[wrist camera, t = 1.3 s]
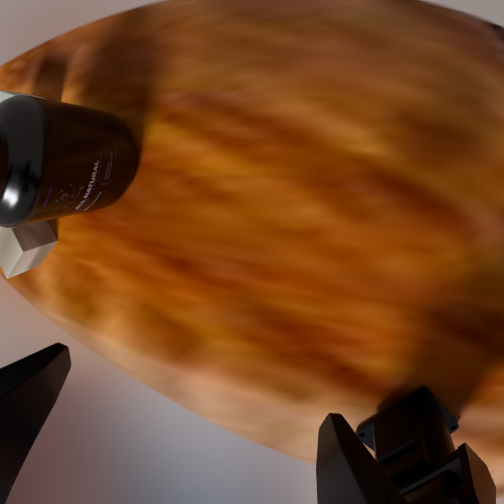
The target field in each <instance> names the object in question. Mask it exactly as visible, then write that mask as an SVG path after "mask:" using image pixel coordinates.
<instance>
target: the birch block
mask: <svg viewBox="0 0 504 504" xmlns="http://www.w3.org/2000/svg"><path fill="white" fill-rule="evenodd" d="M57 241H58V240H57V238H56V236H55V234H54V232H53V231H52V229H51V227H50V225H49V223H48V221H47V220H46V221H42V222H38V223H33V224H29V225H25V226H20V227H15V228H4V227H1V226H0V266H1V268H2V270H3V272H4V274H5V276H6V278H7V279H8V278H10V277H13V276H15V275H18V274H20V273H23V272H25V271H28V270H30V269H33V268H35V267H38V266H39V265H40V264H41V263H42V261H43V260H44V259H45V257H46V256H47V255H48V253H49V252H50V251H51V249H52V248H53V247H54V245H55V244H56V243H57Z"/></svg>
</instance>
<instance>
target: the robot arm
mask: <svg viewBox="0 0 504 504" xmlns="http://www.w3.org/2000/svg"><path fill="white" fill-rule="evenodd" d="M70 368H71V359H70V353H69V348H68V347H67V346H66V345H63V344H61V343H55V344H53V345H51V346H49V347H47V348H44V349H42V350H40V351H38V352H36V353H33V354H31V355H29V356H27V357H25V358H23V359H20V360H18V361H16V362H14V363H11V364H9V365H7V366H5V367H3V368H0V504H5V503H6V500H7V498H8V496H9V493H10V491H11V489H12V486H13V484H14V482H15V480H16V478H17V476H18V473H19V471H20V469H21V467H22V465H23V463H24V461H25V459H26V457H27V455H28V453H29V451H30V449H31V447H32V445H33V443H34V441H35V440H36V437H37V436H38V434H39V432H40V430H41V428H42V426H43V425H44V423H45V421H46V419H47V417H48V415H49V414H50V412H51V410H52V408H53V406H54V404H55V402H56V400H57V398H58V396H59V394H60V391H61V389H62V387H63V384H64V382H65V380H66V377H67V375H68V373H69V371H70ZM424 392H425V393H424ZM422 393H424V394H422ZM452 426H453V427H452ZM458 427H459V425H458V422H457V420H456V419H455V418H454V417H453V416H452V415H451V413H450V412H449V411H448V410H447V409H446V407H445V406H444V405H443V404H442V403H441V402H440V400H439V399H438V398H437V397H436V396H435V395H434V394H433V392H432V391H431V390H430V389H429V388H428V387H426V386H424V387H421V388H419V389H418V390H416V391H415V392H414V393H412V394H411V395H409V396H408V397H406V398H405V399H403V400H402V401H401V402H399V403H398V404H396V405H395V406H393V407H392V408H390V409H389V410H387V411H385V412H384V413H382V414H381V415H379V416H378V417H376V418H374V419H373V420H371V421H369V422H368V423H366V424H364V425H363V426H361V427H359V428H358V429H357V430H356V433H355V432H354V431H353V429H352V428H351V427H350V425H349V424H348V422H347V421H346V420H345V418H344V417H343V416H342V415H341V414H338V413H329V414H328V415H327V417H326V418H325V420H324V421H323V423H322V424H321V426H320V428H319V433H318V449H317V463H316V478H317V501H318V504H496V487H495V484H494V482H493V479H492V477H491V475H490V472H489V470H488V468H487V466H486V464H485V463H484V462H483V461H482V460H481V459H480V458H479V457H478V455H477V454H476V453H475V452H474V451H473V450H472V449H471V448H470V447H469V446H468V445H467V444H466V443H463V444H462V445H460V446H459V447H458V449H457V450H455V447H454V444H453V441H452V438H451V435H450V434H451V433H453V432H454V431H456V430H457V429H458ZM362 442H363V443H364V444H365V445H367V446H368V447H369V448H371V449H372V450H373V451H374V452H375V459H374V457H373V456H372V455H371V453H370V452H369V451H368V449H367V448H366V447H365V445H364V444H363V443H362Z"/></svg>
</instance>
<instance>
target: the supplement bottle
mask: <svg viewBox="0 0 504 504" xmlns="http://www.w3.org/2000/svg"><path fill="white" fill-rule="evenodd" d="M135 165H136V147H135V142H134V138H133V135H132V133H131V131H130V129H129V127H128V126H127V125H126V123H125V122H124V121H123V120H122V119H120V118H119V117H118V116H116V115H114V114H111V113H108V112H104V111H101V110H97V109H92V108H88V107H83V106H79V105H74V104H69V103H64V102H59V101H54V100H49V99H43V98H38V97H32V96H24V95H18V96H13V97H10V98H8V99H6V100H4V101H2V102H1V103H0V226H1V227H4V228H15V227H20V226H25V225H29V224H33V223H38V222H42V221H46V220H51V219H56V218H60V217H65V216H70V215H74V214H79V213H84V212H89V211H94V210H99V209H102V208H105V207H108V206H110V205H112V204H113V203H115V202H116V201H117V200H118V199H119V198H120V197H121V196H122V195H123V194H124V192H125V191H126V190H127V188H128V186H129V184H130V182H131V180H132V177H133V174H134V170H135Z"/></svg>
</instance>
